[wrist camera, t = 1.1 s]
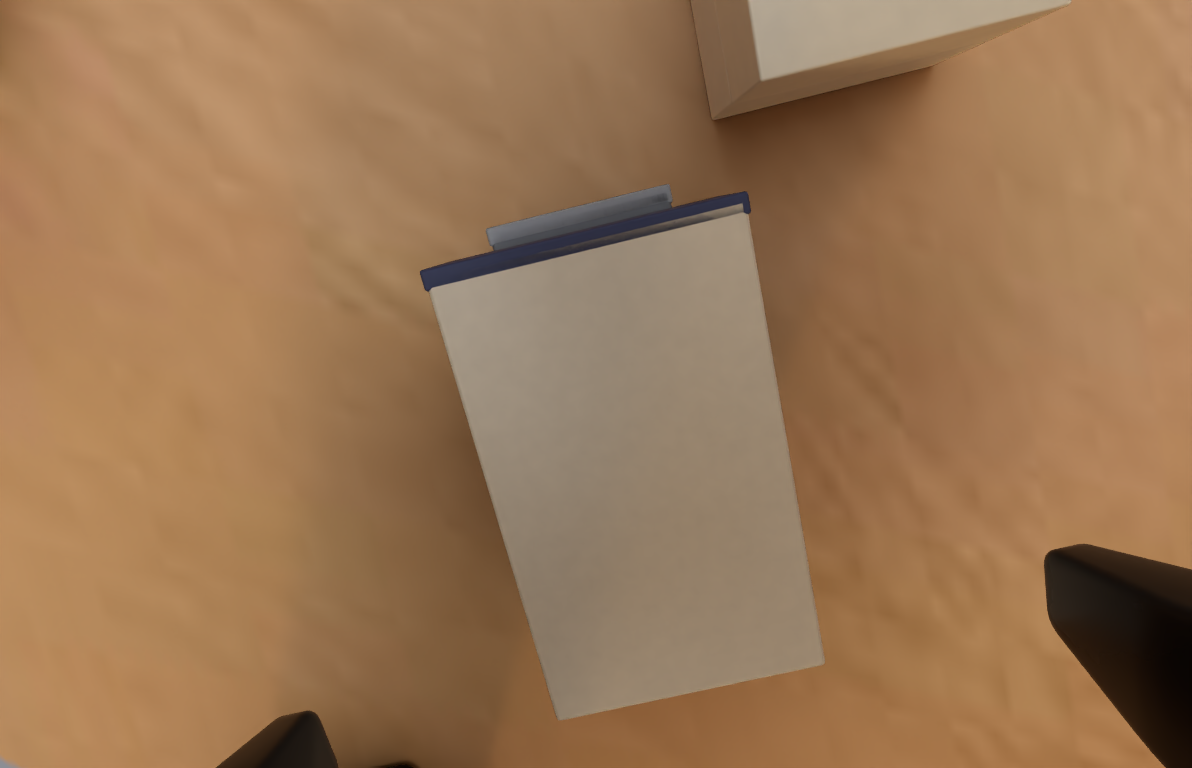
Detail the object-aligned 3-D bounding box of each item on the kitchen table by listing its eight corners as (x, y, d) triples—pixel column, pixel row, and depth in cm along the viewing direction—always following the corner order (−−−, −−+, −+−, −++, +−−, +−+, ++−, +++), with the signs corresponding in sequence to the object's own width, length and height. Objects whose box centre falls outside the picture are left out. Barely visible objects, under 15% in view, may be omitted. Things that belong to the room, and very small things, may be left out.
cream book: (559, 650, 17) (555, 723, 14) (447, 262, 14) (418, 271, 12) (792, 599, 16) (829, 665, 14) (720, 195, 14) (748, 190, 11)
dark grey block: (598, 575, 21) (601, 658, 17) (506, 226, 18) (484, 229, 14) (724, 547, 20) (757, 625, 17) (651, 191, 18) (669, 183, 14)
